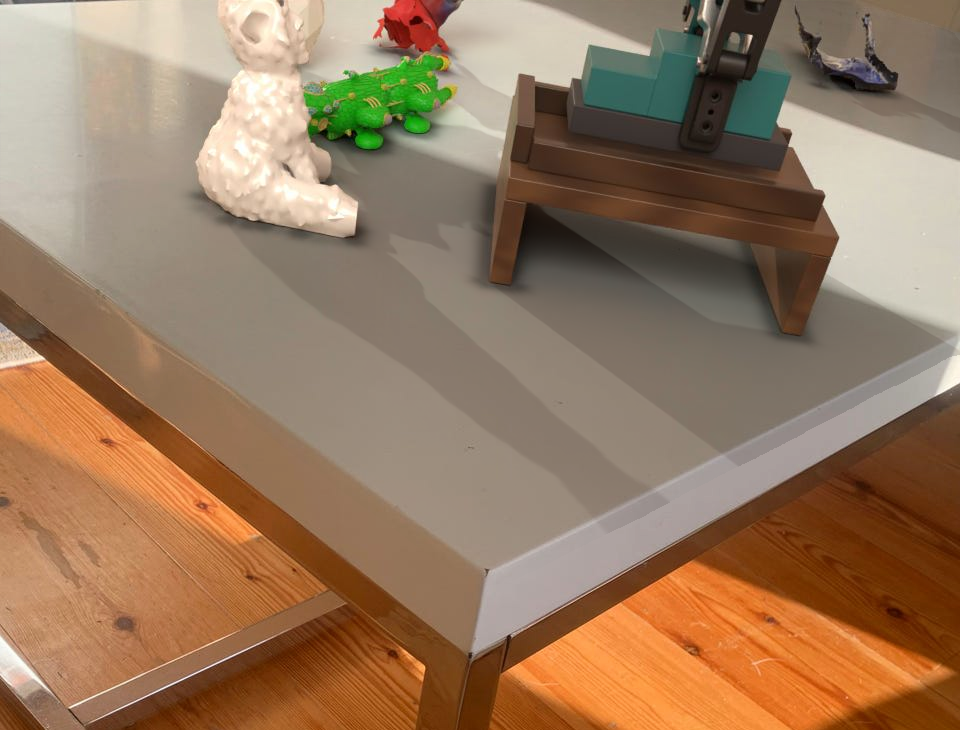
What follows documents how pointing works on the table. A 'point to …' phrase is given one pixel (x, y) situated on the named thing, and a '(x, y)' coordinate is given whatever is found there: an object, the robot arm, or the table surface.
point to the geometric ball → (303, 3)
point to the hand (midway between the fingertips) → (691, 129)
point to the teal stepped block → (676, 100)
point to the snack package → (851, 61)
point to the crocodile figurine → (378, 100)
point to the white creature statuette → (271, 131)
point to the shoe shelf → (662, 197)
